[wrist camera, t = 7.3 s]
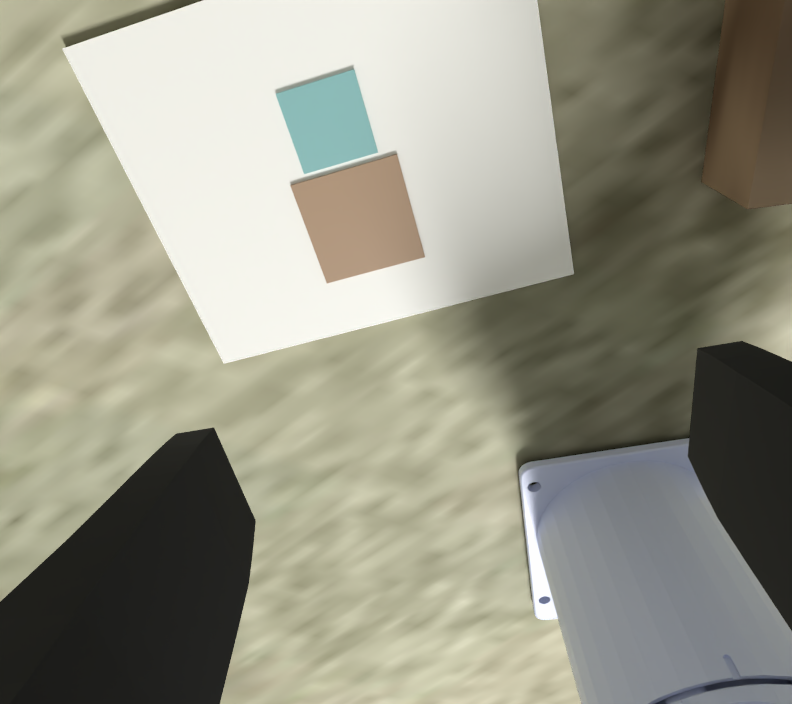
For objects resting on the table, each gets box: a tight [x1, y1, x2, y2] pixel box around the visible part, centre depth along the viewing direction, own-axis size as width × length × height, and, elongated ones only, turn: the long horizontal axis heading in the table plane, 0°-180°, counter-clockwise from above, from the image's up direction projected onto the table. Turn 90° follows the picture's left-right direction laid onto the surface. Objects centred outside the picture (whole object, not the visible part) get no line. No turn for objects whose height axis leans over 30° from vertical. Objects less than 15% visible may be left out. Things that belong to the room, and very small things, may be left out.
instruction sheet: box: [63, 0, 574, 363], centre depth 17 cm, size 10×12×1 cm
